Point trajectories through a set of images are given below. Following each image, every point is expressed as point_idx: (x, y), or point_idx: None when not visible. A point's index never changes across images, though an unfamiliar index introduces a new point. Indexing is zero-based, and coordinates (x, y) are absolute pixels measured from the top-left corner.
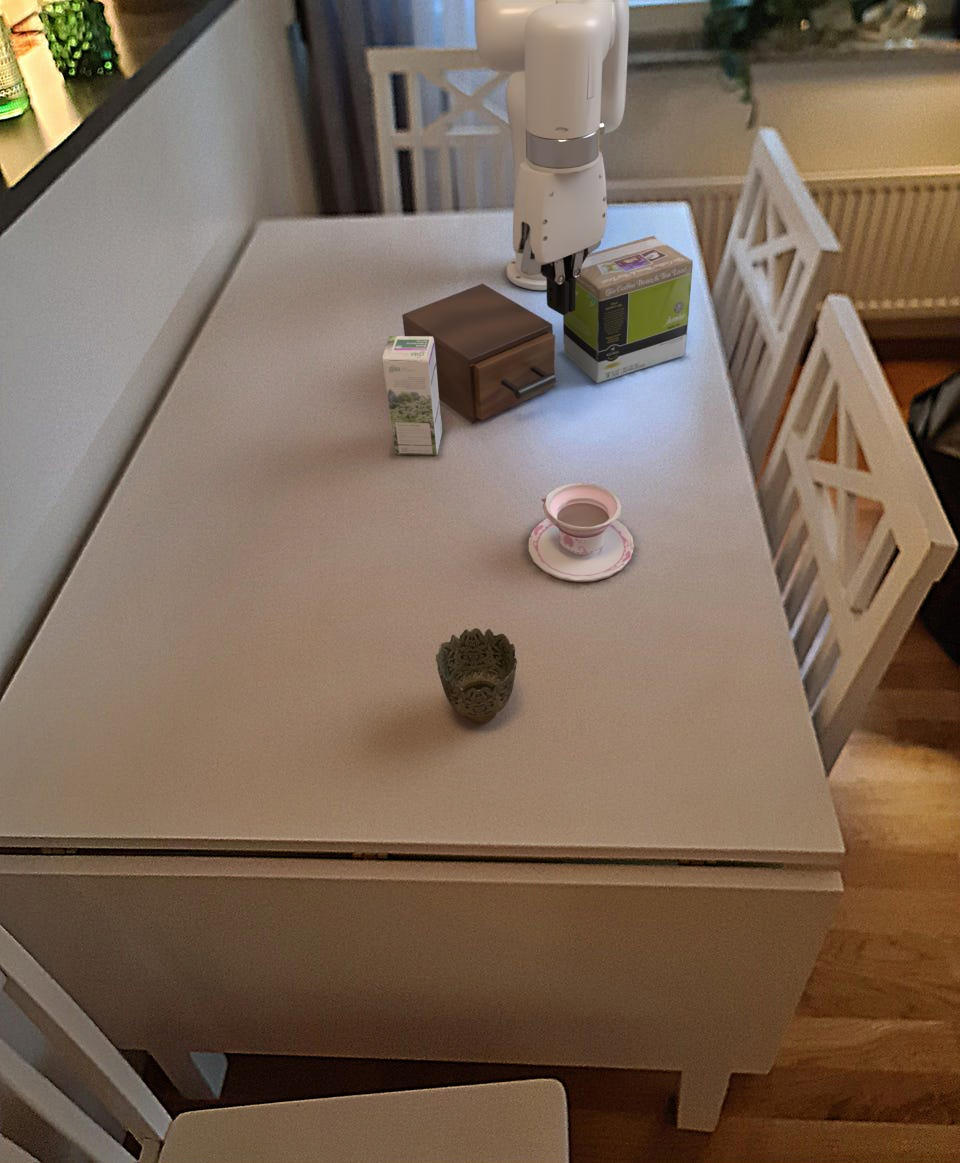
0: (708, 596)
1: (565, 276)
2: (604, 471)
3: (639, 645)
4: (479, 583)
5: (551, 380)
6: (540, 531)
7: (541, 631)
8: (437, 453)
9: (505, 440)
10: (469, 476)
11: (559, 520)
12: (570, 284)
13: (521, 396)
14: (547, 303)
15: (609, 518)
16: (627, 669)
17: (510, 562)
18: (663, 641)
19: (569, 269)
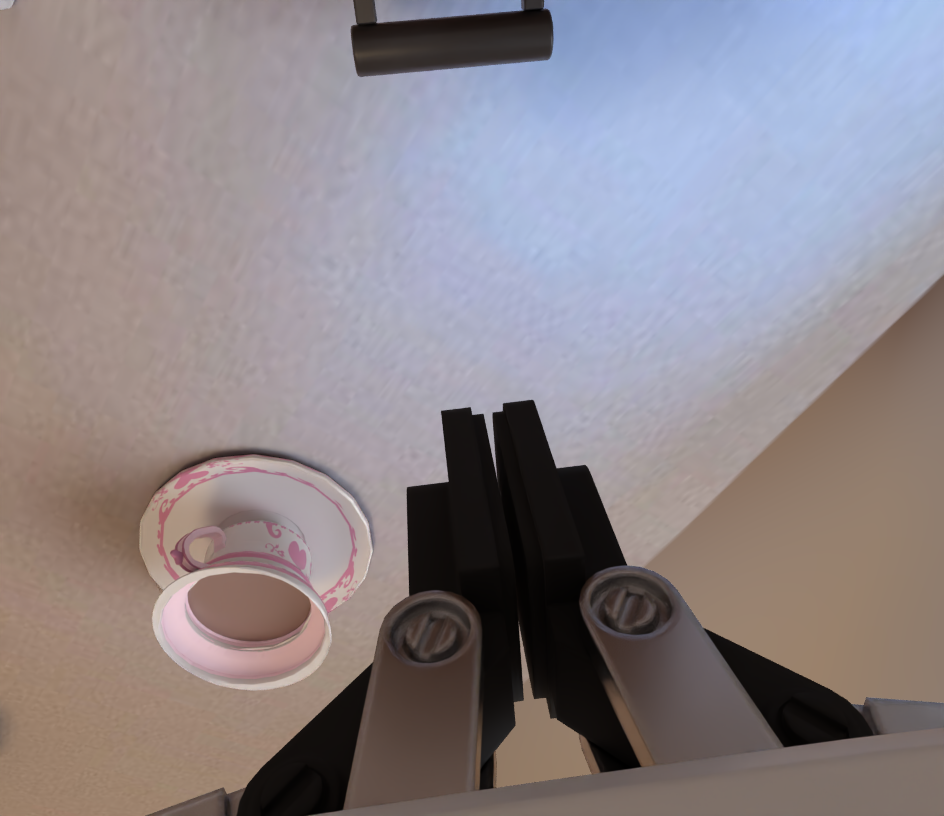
0: None
1: (550, 669)
2: (461, 370)
3: (235, 727)
4: (2, 534)
5: (525, 61)
6: (195, 480)
7: (88, 661)
8: (12, 4)
9: (289, 75)
10: (98, 185)
11: (197, 584)
12: (532, 691)
13: (363, 76)
14: (443, 417)
15: (295, 641)
16: (193, 749)
17: (93, 514)
18: (274, 732)
19: (589, 733)
